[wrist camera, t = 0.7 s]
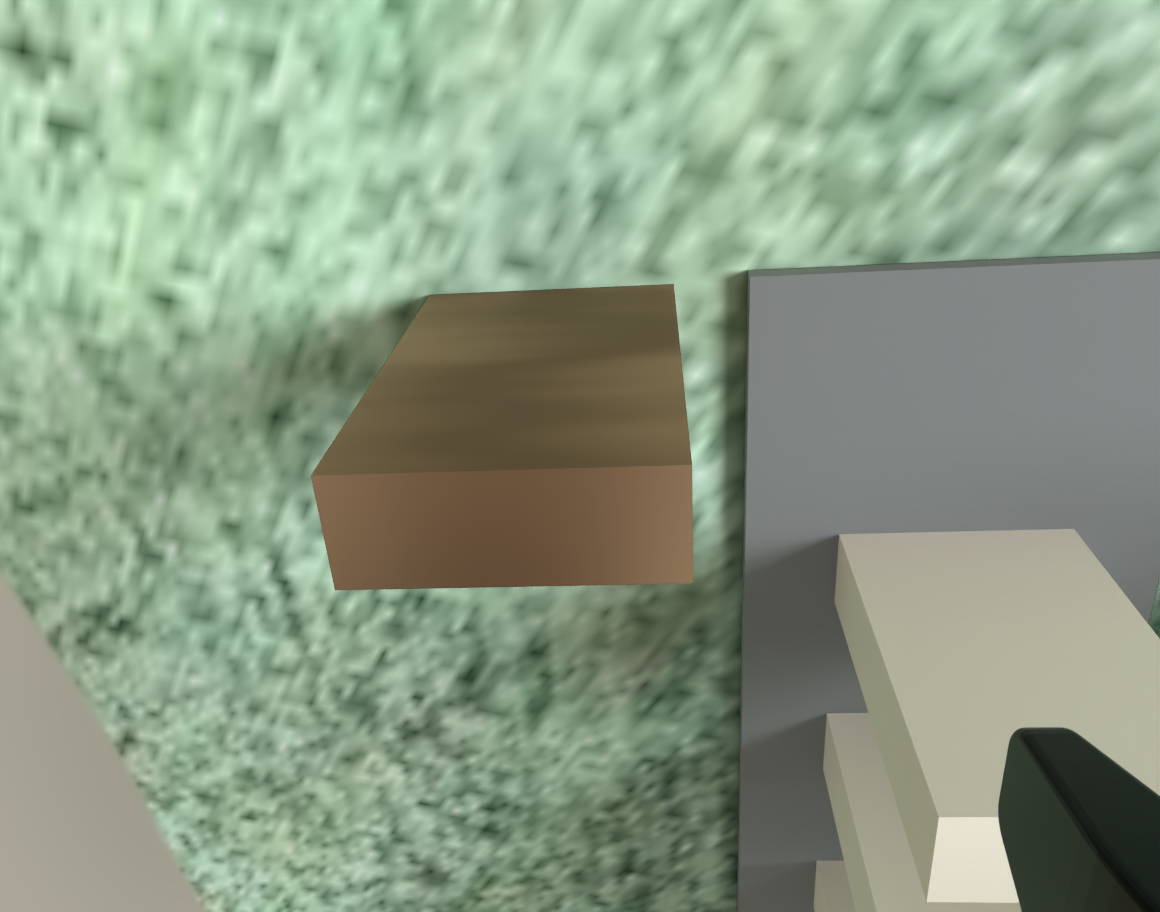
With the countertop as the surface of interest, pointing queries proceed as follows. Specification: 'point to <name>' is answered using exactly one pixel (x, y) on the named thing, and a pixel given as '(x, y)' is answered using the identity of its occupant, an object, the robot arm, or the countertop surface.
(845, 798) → the tile
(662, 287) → the walnut domino
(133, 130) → the countertop surface
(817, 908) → the tile
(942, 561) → the tile
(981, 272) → the mat
